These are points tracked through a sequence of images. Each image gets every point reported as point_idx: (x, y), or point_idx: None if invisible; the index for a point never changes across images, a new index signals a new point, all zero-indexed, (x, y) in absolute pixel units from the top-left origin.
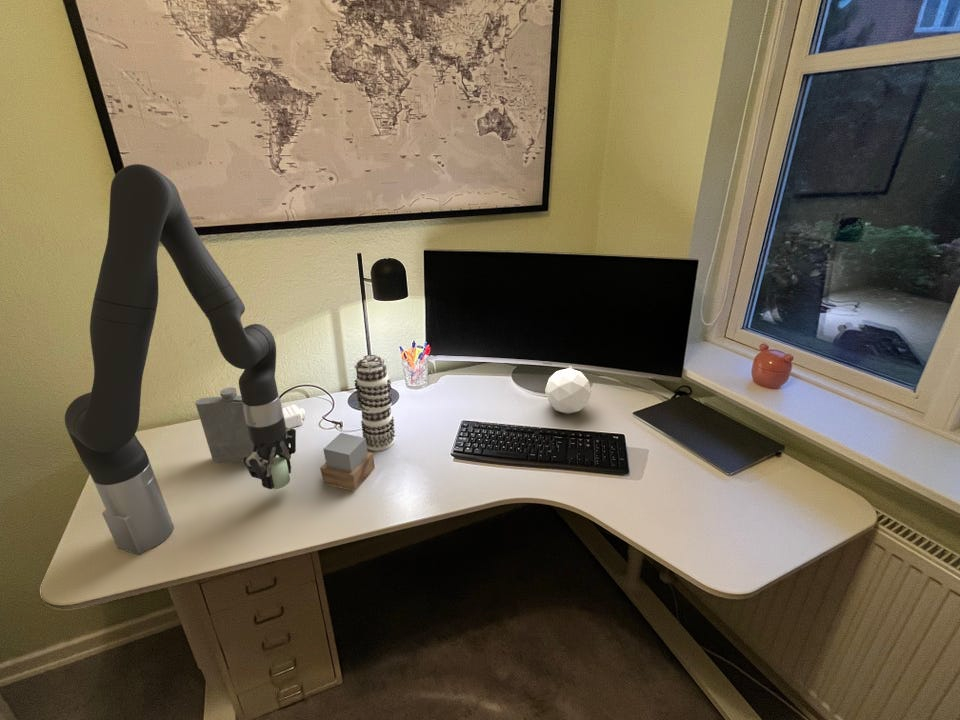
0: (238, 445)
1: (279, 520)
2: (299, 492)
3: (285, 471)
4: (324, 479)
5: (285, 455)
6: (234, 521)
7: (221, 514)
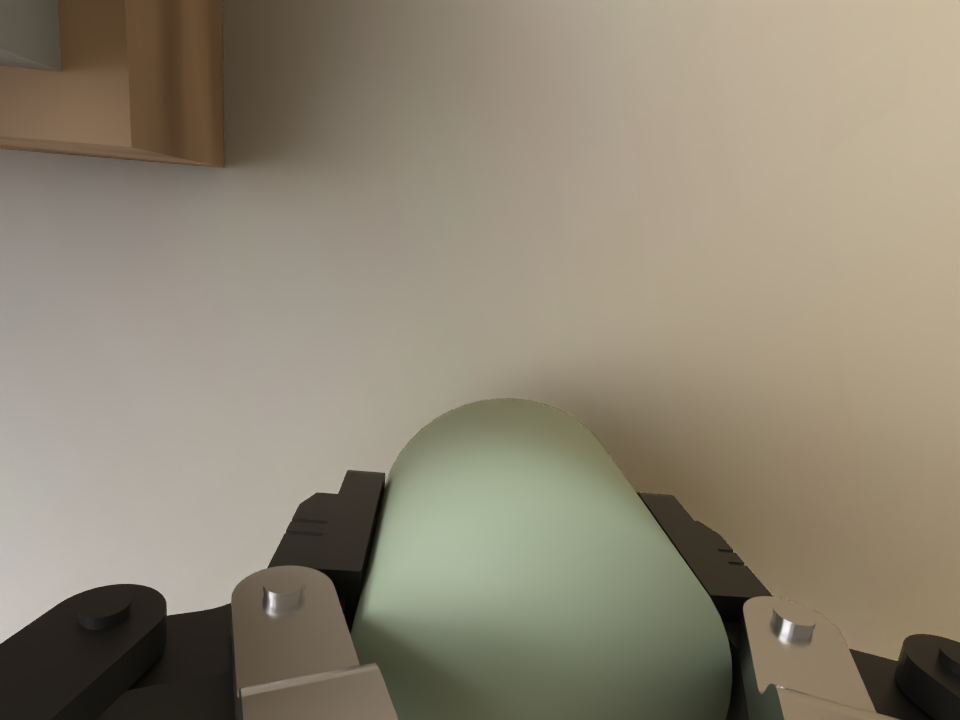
0: None
1: (757, 280)
2: (411, 319)
3: (532, 465)
4: (205, 133)
5: (345, 665)
6: (809, 594)
7: None
